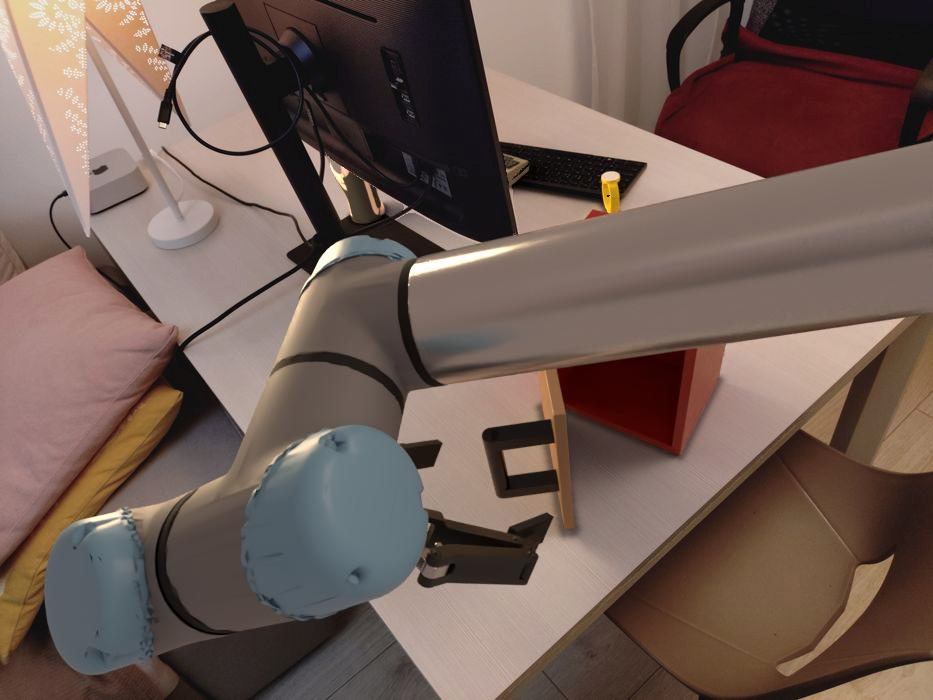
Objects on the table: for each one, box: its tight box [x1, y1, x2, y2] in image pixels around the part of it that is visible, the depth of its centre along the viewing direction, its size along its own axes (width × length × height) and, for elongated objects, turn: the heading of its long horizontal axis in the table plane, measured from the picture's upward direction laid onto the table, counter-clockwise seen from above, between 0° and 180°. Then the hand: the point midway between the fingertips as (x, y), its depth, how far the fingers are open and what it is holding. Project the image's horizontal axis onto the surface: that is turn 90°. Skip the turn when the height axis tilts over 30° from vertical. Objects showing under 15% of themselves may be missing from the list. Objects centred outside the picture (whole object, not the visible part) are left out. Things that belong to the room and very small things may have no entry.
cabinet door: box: [481, 369, 575, 531], centre depth 63 cm, size 7×16×20 cm, turn 3°
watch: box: [600, 170, 621, 213], centre depth 97 cm, size 6×3×6 cm, turn 4°
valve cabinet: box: [557, 209, 727, 456], centre depth 68 cm, size 12×16×20 cm
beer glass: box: [325, 153, 386, 225], centre depth 104 cm, size 7×7×15 cm
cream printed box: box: [503, 153, 530, 187], centre depth 112 cm, size 16×8×3 cm, turn 50°
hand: (487, 487), depth 60 cm, fingers open, 13 cm apart
